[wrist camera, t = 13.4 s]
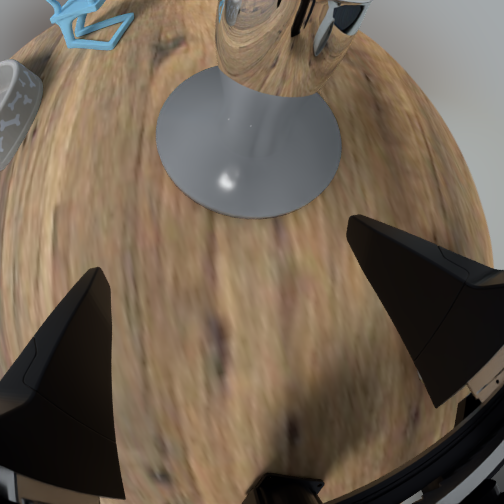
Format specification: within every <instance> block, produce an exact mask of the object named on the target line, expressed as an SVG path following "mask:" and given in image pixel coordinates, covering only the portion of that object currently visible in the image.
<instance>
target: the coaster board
mask: <svg viewBox="0 0 504 504" xmlns="http://www.w3.org/2000/svg"><path fill="white" fill-rule="evenodd" d="M222 104H223V91H222V85H221V80H220V75H219V69H218V66H215V67H211V68H208V69H205V70H203V71H201V72H199V73H197V74H194V75H193V76H191V77H190V78H188V79H186V80H185V81H184V82H183V83H181V84H180V85H179V86H178V87H177V88H176V89H175V90H174V91H173V92H172V93H171V94H170V96H169V97H168V98H167V100H166V101H165V103H164V105H163V107H162V109H161V111H160V114H159V117H158V120H157V127H156V143H157V149H158V153H159V155H160V158H161V161H162V164H163V166H164V168H165V170H166V172H167V174H168V176H169V177H170V179H171V180H172V181H173V182H174V184H175V185H176V186H177V187H178V188H179V189H180V190H181V191H182V192H183V193H184V194H185V195H186V196H188V197H189V198H190V199H192V200H193V201H194V202H196V203H198V204H199V205H201V206H203V207H205V208H207V209H209V210H211V211H214V212H216V213H219V214H222V215H226V216H230V217H235V218H242V219H267V218H274V217H278V216H282V215H286V214H289V213H291V212H294V211H296V210H298V209H300V208H302V207H304V206H305V205H307V204H308V203H310V202H311V201H312V200H313V199H315V198H316V197H317V196H318V195H319V194H321V193H322V191H323V190H324V189H325V188H326V187H327V186H328V185H329V183H330V182H331V180H332V179H333V177H334V175H335V173H336V171H337V169H338V166H339V162H340V158H341V149H342V147H341V136H340V131H339V127H338V124H337V121H336V119H335V117H334V115H333V113H332V111H331V109H330V108H329V106H328V105H327V103H326V102H325V101H324V100H323V99H322V97H321V96H320V95H319V94H318V93H317V92H316V93H315V94H314V95H313V96H312V97H311V98H310V99H309V101H308V102H307V103H306V104H305V105H304V106H303V107H302V108H301V109H300V110H299V111H298V113H297V114H296V115H295V117H294V118H293V121H292V125H291V131H290V136H289V139H288V142H287V144H286V145H285V147H284V148H283V149H282V150H281V151H280V152H278V153H277V154H275V155H273V156H271V157H268V158H264V159H248V158H243V157H240V156H238V155H236V154H234V153H232V152H230V151H229V150H228V149H227V148H225V147H224V145H223V144H222V143H221V142H220V140H219V138H218V135H217V132H216V121H217V117H218V114H219V112H220V109H221V107H222Z"/></svg>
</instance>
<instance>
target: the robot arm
mask: <svg viewBox="0 0 504 504" xmlns="http://www.w3.org/2000/svg"><path fill="white" fill-rule="evenodd" d="M346 237H347V241H348V243H349V245H350V247H351V249H352V251H353V252H354V254H355V256H356V258H357V260H358V263H359V265H360V267H361V269H362V270H363V272H364V274H365V276H366V277H367V279H368V281H369V282H370V284H371V286H372V287H373V289H374V291H375V292H376V294H377V296H378V297H379V299H380V301H381V302H382V304H383V306H384V308H385V309H386V311H387V313H388V315H389V316H390V318H391V320H392V322H393V324H394V325H395V327H396V329H397V331H398V333H399V335H400V336H401V338H402V340H403V342H404V344H405V346H406V348H407V350H408V352H409V354H410V356H411V358H412V360H413V361H414V364H415V366H416V368H417V370H418V372H419V374H420V376H421V378H422V380H423V382H424V385H425V387H426V389H427V391H428V393H429V396H430V398H431V400H432V402H433V404H434V406H435V408H438V407H439V406H440V405H442V404H443V403H444V402H446V401H447V400H448V399H450V398H451V397H452V396H453V395H455V394H456V393H457V392H458V391H460V390H461V389H462V388H463V387H465V386H466V385H467V386H468V388H469V389H470V391H471V393H470V394H469V395H467V396H466V397H465V398H464V399H463V400H462V401H460V402H459V403H458V408H457V414H456V420H455V425H454V429H452V430H451V431H450V432H449V433H447V434H446V435H445V436H444V437H442V438H441V439H440V440H438V441H437V442H436V443H434V444H433V445H432V446H430V447H429V448H427V449H426V450H425V451H423V452H422V453H420V454H419V455H417V456H416V457H414V458H413V459H411V460H409V461H408V462H406V463H405V464H403V465H401V466H400V467H398V468H396V469H395V470H393V471H391V472H390V473H388V474H386V475H384V476H382V477H380V478H379V479H377V480H375V481H373V482H371V483H369V484H367V485H365V486H363V487H361V488H359V489H356V490H354V491H352V492H350V493H348V494H345V495H343V496H341V497H338V498H336V499H333V500H331V501H328V502H325V503H322V501H321V500H320V498H319V497H318V495H317V494H318V493H319V491H320V490H321V489H322V487H323V486H324V482H323V480H317V479H308V478H299V477H292V476H286V475H280V474H274V473H267V474H265V475H264V476H263V477H262V479H261V480H260V482H259V483H258V484H257V486H256V487H255V488H253V489H252V490H251V492H250V493H249V494H248V496H247V497H246V498H245V500H244V501H243V502H242V504H400V503H401V502H403V501H405V500H406V499H408V498H409V497H411V496H413V495H414V494H416V493H417V492H418V491H420V490H422V492H423V495H422V499H420V500H418V501H416V502H414V503H412V504H504V492H502V493H501V492H500V490H499V488H498V485H497V483H496V481H495V480H492V479H491V478H492V477H493V476H494V475H495V474H496V473H497V472H498V471H499V470H500V468H501V467H502V466H503V465H504V270H497V269H493V268H490V267H488V266H485V265H483V264H481V263H478V262H476V261H473V260H471V259H468V258H466V257H464V256H461V255H459V254H456V253H454V252H452V251H450V250H447V249H445V248H443V247H440V246H437V245H436V244H434V243H431V242H429V241H427V240H424V239H422V238H419V237H417V236H415V235H412V234H410V233H407V232H405V231H402V230H400V229H397V228H395V227H392V226H390V225H387V224H385V223H382V222H379V221H377V220H374V219H372V218H369V217H366V216H363V215H361V214H357V215H352V216H350V217H349V220H348V227H347V233H346ZM111 350H112V317H111V290H110V286H109V283H108V281H107V279H106V277H105V275H104V273H103V271H102V269H101V268H100V267H95V268H91V269H89V270H88V271H87V272H86V273H85V274H84V275H83V276H82V277H81V278H80V280H79V281H78V282H77V283H76V284H75V285H74V286H73V288H72V289H71V290H70V291H69V292H68V293H67V295H66V296H65V297H64V298H63V299H62V301H61V302H60V303H59V304H58V305H57V307H56V308H55V309H54V310H53V312H52V313H51V314H50V315H49V317H48V318H47V319H46V320H45V322H44V323H43V324H42V326H41V327H40V328H39V330H38V331H37V332H36V334H35V335H34V337H33V338H32V339H31V340H30V342H29V343H28V345H27V346H26V347H25V349H24V350H23V351H22V353H21V354H20V355H19V357H18V358H17V359H16V361H15V362H14V363H13V365H12V366H11V367H10V369H9V370H8V371H7V372H6V374H5V375H4V377H3V378H2V379H1V381H0V504H100V498H99V497H101V498H110V499H121V500H125V499H126V498H125V492H124V488H123V483H122V477H121V472H120V466H119V459H118V452H117V445H116V438H115V428H114V417H113V402H112V376H111ZM268 477H271V478H268ZM318 484H319V485H318Z"/></svg>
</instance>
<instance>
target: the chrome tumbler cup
mask: <svg viewBox="0 0 504 504" xmlns="http://www.w3.org/2000/svg"><path fill="white" fill-rule="evenodd" d="M372 1H373V0H218V4H217V11H216V19H215V48H216V58H217V64H218V69H219V75H220V80H221V85H222V91H223V104H222V107H221V109H220V112H219V114H218V117H217V121H216V132H217V135H218V138H219V140H220V142H221V143H222V144H223V145H224V147H225V148H227V149H228V150H229V151H230V152H232V153H234V154H236V155H238V156H240V157H243V158H248V159H264V158H268V157H271V156H273V155H275V154H277V153H278V152H280V151H281V150H282V149H283V148H284V147H285V145H286V144H287V142H288V139H289V136H290V131H291V125H292V121H293V118H294V117H295V115H296V114H297V113H298V111H299V110H300V109H301V108H302V107H303V106H304V105H305V104H306V103H307V102H308V101H309V99H310V98H311V97H312V96H313V95H314V94H315V93H316V92H317V91H318V90H319V89H320V88H321V87H322V86H323V84H324V83H325V82H326V81H327V80H328V78H329V77H330V76H331V75H332V74H333V73H334V71H335V70H336V68H337V67H338V65H339V64H340V62H341V61H342V59H343V58H344V56H345V54H346V52H347V51H348V49H349V47H350V45H351V43H352V42H353V40H354V38H355V36H356V34H357V31H358V29H359V27H360V25H361V23H362V21H363V19H364V16H365V14H366V12H367V10H368V8H369V6H370V3H371V2H372Z"/></svg>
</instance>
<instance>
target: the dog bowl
mask: <svg viewBox="0 0 504 504" xmlns="http://www.w3.org/2000/svg"><path fill="white" fill-rule="evenodd" d="M42 94H43V84H42V81H41V79H40V78H39V77H38V76H37V75H36V74H34V73H32V72H31V71H30V70H28V69H27V68H26V67H25V66H23V65H22V64H21V63H19V62H18V61H16V60H14V59H8V60H5V61H2V62H0V171H2V170H4V169H5V167H6V166H7V165H8V163H9V162H10V161H11V159H12V158H13V156H14V155H15V153H16V151H17V150H18V148H19V146H20V145H21V143H22V141H23V140H24V138H25V136H26V134H27V133H28V131H29V129H30V127H31V125H32V123H33V121H34V119H35V117H36V114H37V112H38V109H39V106H40V103H41V99H42Z"/></svg>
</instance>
